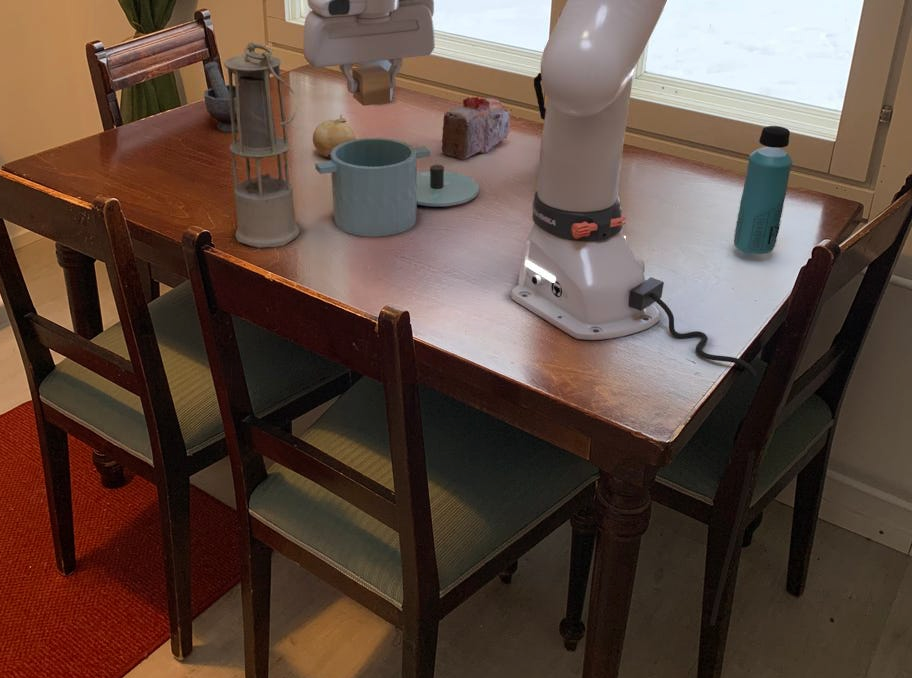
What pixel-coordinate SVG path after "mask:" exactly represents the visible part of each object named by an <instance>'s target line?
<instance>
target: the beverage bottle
mask: <svg viewBox="0 0 912 678" xmlns="http://www.w3.org/2000/svg"><path fill="white" fill-rule="evenodd" d="M790 135H791V131H790V130H789V129H788V128H786V127H783V126H778V125H768V126H765V127H763V128H762V130H761V133H760V136H759V140H758V142H759V145H762V146H763V147H760V148H758V149H756V150H755V151H753V152H752V153H750V155H749V156H748V162H747V167H746V173H745V178H744V184H743V189H742V193H741V194H740V196H741V197H740V202H739V208H738V213H737V215H736V217H737V218H736V219H737V220H736V222H735V229H734V233H733V234H734V235H733V245H734V247H735V248H736V249H737V250H739V251H741V252H743V253H747V254H752V255H765V254H769V253H771V252H773V250H774V249H775V247H776V245H777V241H778V236H779V232H780V228H781V223H782V218H783V212H784V208H785V205H784V204H785V200H786V196H787V194H788V193H787V191H788V185H789V179H790V173H791V169H792V165H793V158H792V157H791V155H790V154H789V153H788V152H787V151H786V150H785V149H782V148H787V147H788V146H789V143H790Z"/></svg>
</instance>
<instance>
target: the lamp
mask: <svg viewBox="0 0 912 678" xmlns="http://www.w3.org/2000/svg"><path fill="white" fill-rule="evenodd" d="M256 49H259V50H263V51H264V52H262V53H259V52H255V50H256ZM243 51H244V53H243V54H240V55H237V56H233V57H230V58H228V59H226V60H225V61H223V65H224V67H225V68H226V69H227V75H228V76H227V77H228V85H229V91H230V111H231V123H232V131H231V138H232V143H231V144H230V145H229V151H230V153H231V161H232V163H231V164H232V174H233V176H232V177H233V183H234V190H233V193H234V203H235V213H236V223H237V225H236V226H237V228H236V231H235V234H234V235H235V239H236V240H237V241H238V242H239V243H241V244H245V245H248V246H250V247H255V248H259V249H260V248H261V249H263V248H278V247H283V246H285V245H287V244H288V243H290V242H292V241H293V240H294V239H296V238H298V236H299V235H300V233H301V230H300V227H299V226H298V224H297V223H296V214H295V213H296V212H295V203H294V192H293V191H294V190H293V185H292V184H291V183H290V173H289V172H290V171H289V164H288V157H287V152H288V151H289V149H290V147H291V143H290V142H289V138H288V133H287V130H286V129H287V125H288V124H290V122H292V121H293V120H294V119H295V117H296V114H297V110H298V109H297V108H298V107H296V108H295V111H294V113H293V115H292V116H291V117H290V118H288V119H287V118H286V113H285V112H286V111H285V103H284V101H283V95H282V85H281V83H282V84H284V85H286V87H287V88H288V89H289V90H290V92H291V93H292V95H295V92H294V89H292V87H290V85H288V83H287V82H286V81H285V80H284V79H283V78H282V77H281V76H280V74H281V69H280V66H281V64H282V60H281V58H279V57H277V56H274V55H272V49H271V48H269V47H268V46H266V45H263V44H260V43H254V41H253V42H252V41H250V42H248V43H247V45H246V46H245V47H244V49H243ZM233 75H234V76H233ZM270 75H272V76H273V77H274V78H275V79H276V81H277V89H278V97H279V98H278V99H279V108H280V117H281V122H280V123H278V125H279V126H282V134H283V138H282V137H279V136H276V127H275V122H274V120H275V119H274V112H273V104H272V102H273V101H272V95H271V76H270ZM233 79H234V83H235V84H234V83H233ZM233 85H235V87H236V106H237V125H238V131H236V128H235V114H234V97H233ZM239 97H240V104H239ZM240 109H241V119H240ZM241 124H242V130H241ZM237 133H238V139H237ZM282 154H283V161H284V167H283V168H284V177H285V179H283V172H282V170H283V169H282V162H281V155H282ZM236 156H239V157H242V158H245V166H246V176H247V178H246V180H243V181H240V182H239V183H238V181H239V180H238V172H237V160H236ZM272 157H276V160H277V170H278V178H277V177H272V176H271V175H270V173H269V172H268V173H265V174H261V166H260V161H261V160H262V159H265V158H266V159H267V158H268V159H269V158H272ZM250 158H251V159H252V160H255V167H256V176H257V177H255V178H251V164H250Z"/></svg>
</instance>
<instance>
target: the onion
mask: <svg viewBox="0 0 912 678" xmlns="http://www.w3.org/2000/svg"><path fill="white" fill-rule="evenodd" d="M351 140H356V133H355V131H354V129H353V128H352V127H351V126H350V125H349V124H348V123H347V119H346V118H345V117H343V114H341V115H339V118H338V119H328V120H324V121H322V122H321V123H319V124H318V125H317V127H316V128H315V129H314V131H313V133H312V144H313V147H314V148H315V150H316V151H317V152H318V153H319V154H320V155H321V156H323V157H325V158H328V159H331V156H330V154H331V152H332V150H333V148H334V147H336V146H338V145H339V144H341V143H344V142H347V141H351Z"/></svg>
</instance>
